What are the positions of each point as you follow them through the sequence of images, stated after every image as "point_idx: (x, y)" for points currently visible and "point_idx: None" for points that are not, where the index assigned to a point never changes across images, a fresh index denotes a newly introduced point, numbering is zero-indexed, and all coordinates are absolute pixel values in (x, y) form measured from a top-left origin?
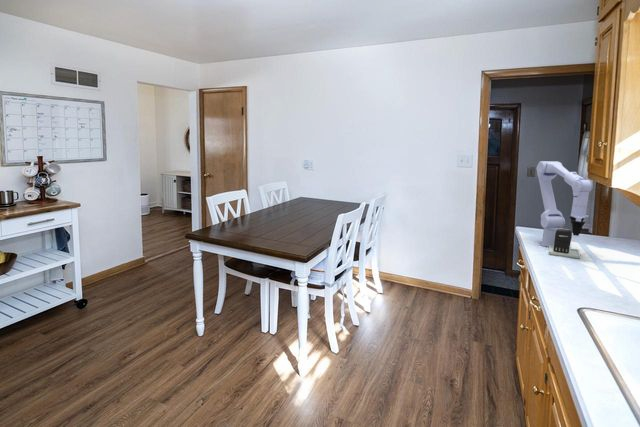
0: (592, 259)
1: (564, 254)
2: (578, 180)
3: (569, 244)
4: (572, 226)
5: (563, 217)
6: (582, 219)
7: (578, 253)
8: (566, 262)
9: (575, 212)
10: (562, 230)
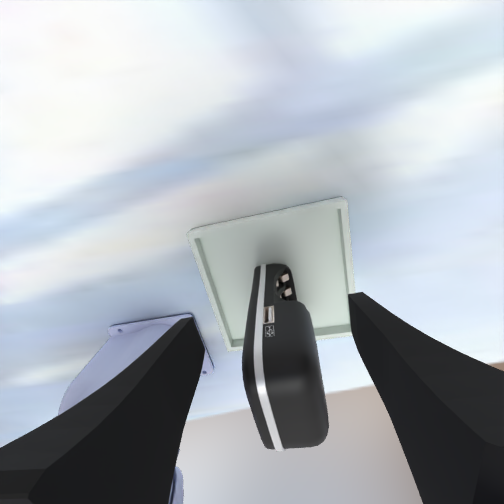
0: (292, 134)
1: (352, 272)
2: None
3: (273, 290)
4: (188, 405)
5: None
6: (70, 473)
7: (286, 218)
8: (463, 238)
9: None
10: (319, 422)
